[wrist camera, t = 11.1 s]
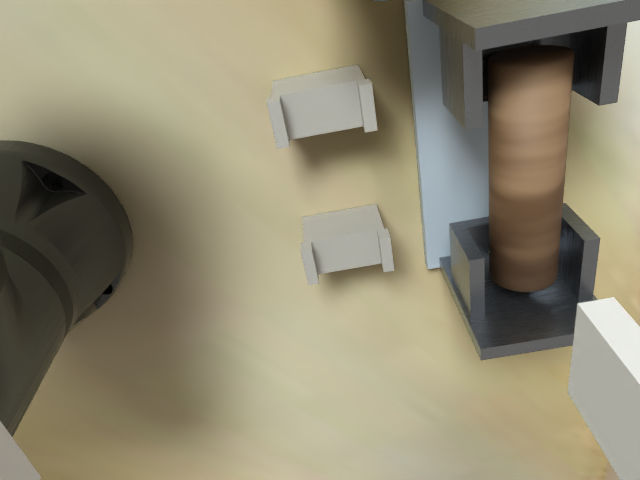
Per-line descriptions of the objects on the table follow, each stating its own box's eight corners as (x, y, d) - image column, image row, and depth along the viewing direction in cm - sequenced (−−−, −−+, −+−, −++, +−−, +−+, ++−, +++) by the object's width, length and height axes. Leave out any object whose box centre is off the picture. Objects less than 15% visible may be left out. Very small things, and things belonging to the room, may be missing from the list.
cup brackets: (436, 260, 45) (480, 360, 35) (419, -3, 34) (475, 28, 24) (541, 242, 45) (617, 337, 34) (557, -30, 34) (674, -10, 24)
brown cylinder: (540, 249, 39) (569, 285, 35) (480, 260, 39) (502, 297, 35) (552, 40, 31) (590, 56, 27) (477, 55, 31) (504, 73, 28)
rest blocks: (306, 248, 44) (308, 285, 39) (269, 81, 36) (266, 103, 32) (383, 235, 43) (394, 270, 39) (361, 63, 36) (372, 83, 32)
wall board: (425, 262, 45) (428, 269, 44) (403, 0, 34) (406, 2, 33) (553, 240, 45) (558, 246, 44) (573, -33, 34) (580, -32, 33)
